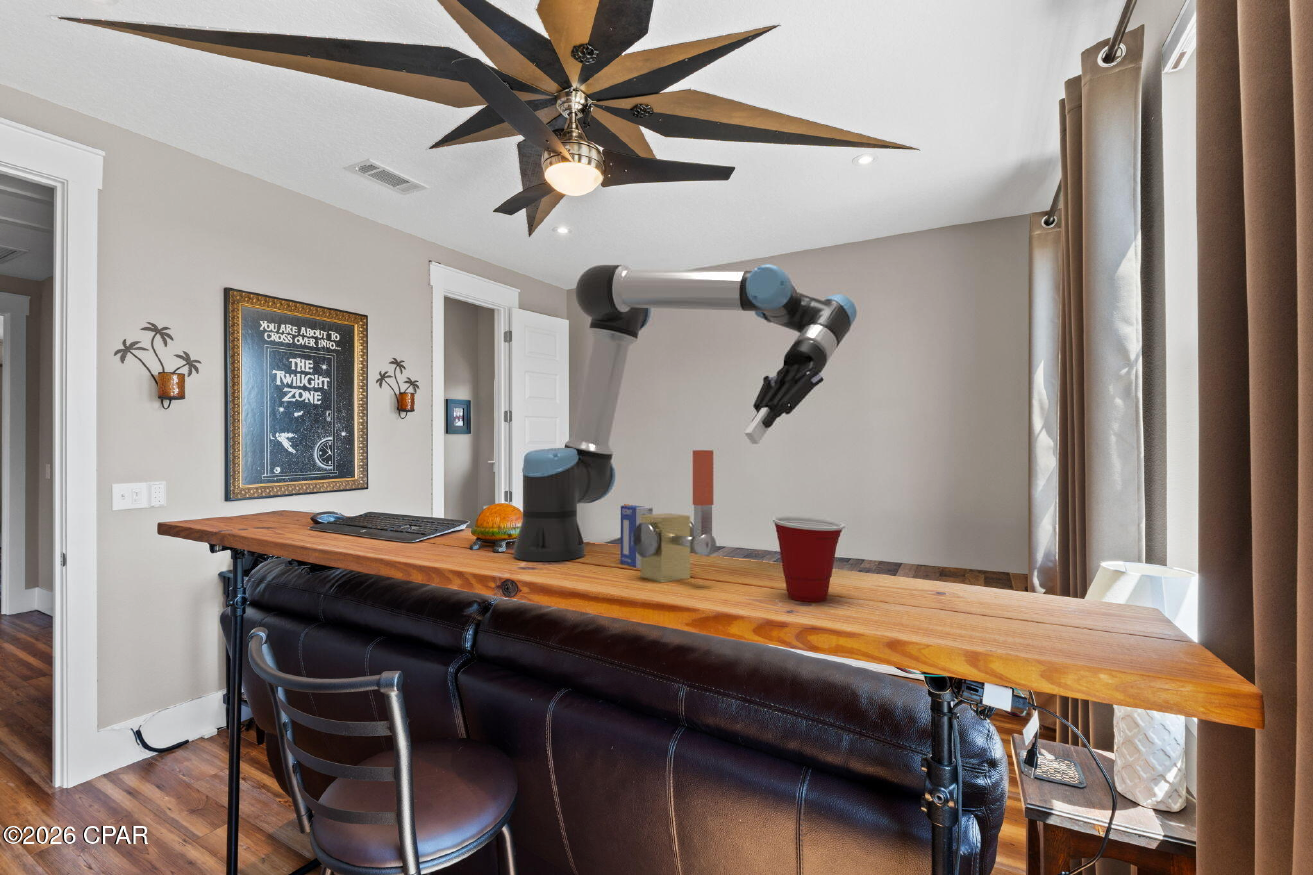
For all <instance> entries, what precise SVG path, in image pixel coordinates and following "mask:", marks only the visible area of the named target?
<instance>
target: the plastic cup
mask: <svg viewBox="0 0 1313 875" xmlns="http://www.w3.org/2000/svg"><path fill="white" fill-rule="evenodd" d="M772 522H773V524H774V527H775V531H776V535H777V541H778V547H779V552H780V560H781V566H782V572H783V576H784V582H785V588H786V594H787V596H788V598H789V599H791V600H794V601H797V602H804V603H817V602H819V603H820V602H824V601H826V600H827V599H828V595H829V591H830V590H829V589H830V584H831V583H830V582H831V578H832V577H833V576H832V574H833V569H834V563H835V559H836V558H835V557H836V552H837V546H838V543H839V539H840V537H841V533H842V531H843V529H845V528H846V524H844V523H843V522H839V521H836V520H832V519H827V518H821V517H813V516H802V515H779V516H778V515H777V516H774V517H772Z"/></svg>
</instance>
